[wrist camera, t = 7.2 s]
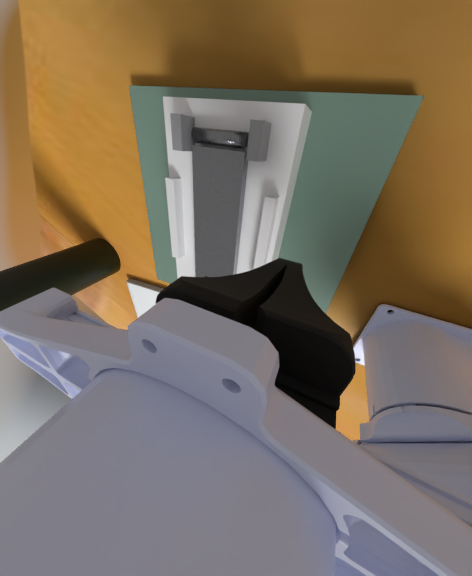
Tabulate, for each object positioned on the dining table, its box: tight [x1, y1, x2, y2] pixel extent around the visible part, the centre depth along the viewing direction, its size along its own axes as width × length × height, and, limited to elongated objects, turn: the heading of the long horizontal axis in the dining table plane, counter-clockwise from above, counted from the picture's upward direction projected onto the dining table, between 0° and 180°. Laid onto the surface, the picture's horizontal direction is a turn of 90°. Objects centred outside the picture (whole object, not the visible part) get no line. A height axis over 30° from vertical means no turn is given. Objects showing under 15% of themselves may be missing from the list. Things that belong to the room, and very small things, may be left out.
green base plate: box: [129, 85, 424, 314], centre depth 19 cm, size 22×20×6 cm
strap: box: [191, 127, 249, 277], centre depth 18 cm, size 16×4×1 cm, turn 174°
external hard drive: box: [126, 279, 163, 318], centre depth 36 cm, size 2×8×12 cm
